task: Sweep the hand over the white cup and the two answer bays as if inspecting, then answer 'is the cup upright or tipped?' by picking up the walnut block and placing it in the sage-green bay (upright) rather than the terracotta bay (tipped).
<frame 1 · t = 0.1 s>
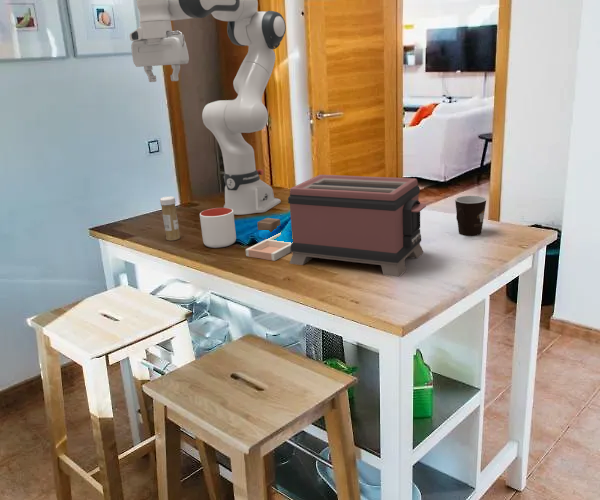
hand: (163, 81, 180), 48 cm above the counter, tool pointing down, fingers open, 8 cm apart
coffee mug: (465, 234, 175), on the counter
sprinkles bottle: (173, 239, 191), on the counter
toaster: (361, 259, 161), on the counter
answer bays: (280, 248, 174), on the counter
cup: (220, 244, 183), on the counter
walnut block: (270, 236, 186), on the counter
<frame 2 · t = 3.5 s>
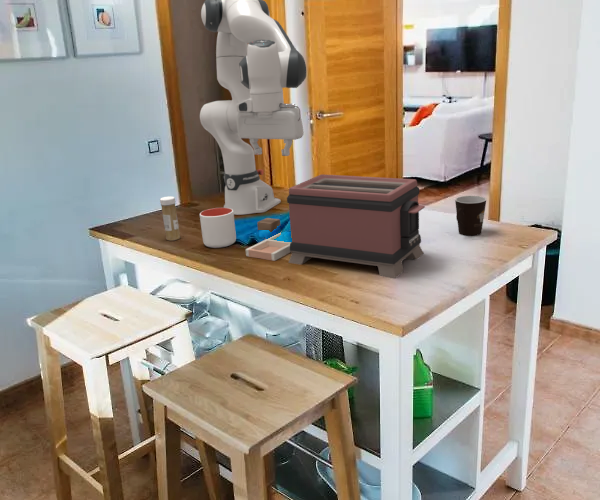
hand: (271, 155, 166), 27 cm above the counter, tool pointing down, fingers open, 8 cm apart
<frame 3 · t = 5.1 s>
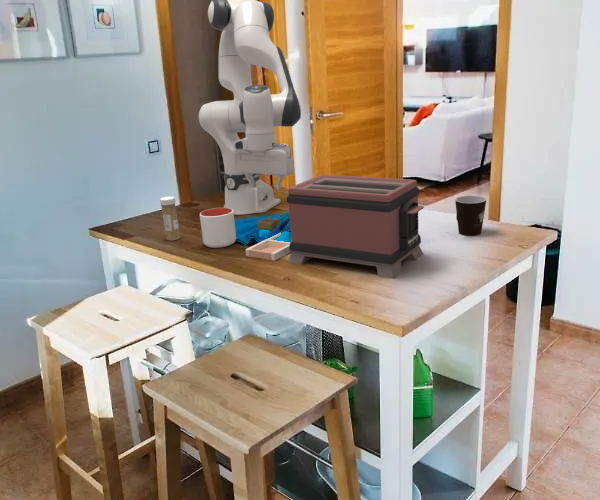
hand: (265, 188, 182), 15 cm above the counter, tool pointing down, fingers open, 8 cm apart
nothing on the counter moved.
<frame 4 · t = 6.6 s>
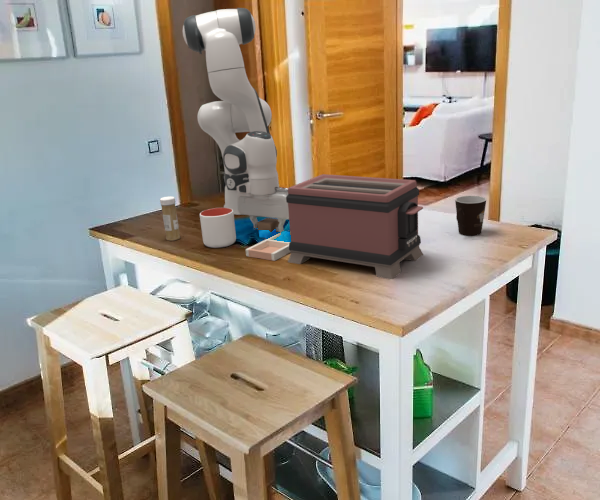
hand: (268, 230, 185), 2 cm above the counter, tool pointing down, fingers open, 7 cm apart
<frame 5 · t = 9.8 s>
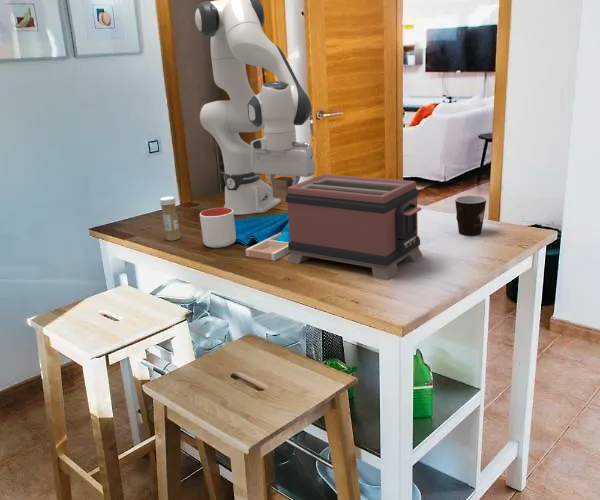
hand: (284, 190, 173), 16 cm above the counter, tool pointing down, fingers closed on walnut block, 5 cm apart
walnut block: (285, 195, 173), point 15 cm above the counter, touching gripper
when the fingers open (4 cm above the counter, at t = 12.4 s): walnut block drops 2 cm, resting on answer bays.
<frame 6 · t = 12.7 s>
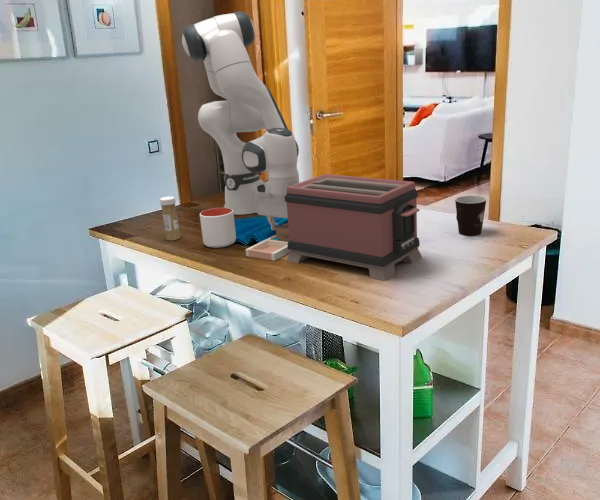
hand: (287, 231, 177), 4 cm above the counter, tool pointing down, fingers open, 8 cm apart
walnut block: (288, 242, 178), resting on answer bays
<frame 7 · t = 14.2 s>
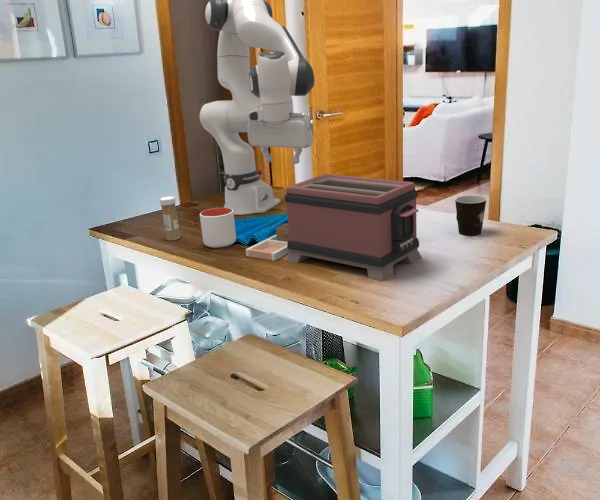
hand: (282, 162, 170), 24 cm above the counter, tool pointing down, fingers open, 8 cm apart
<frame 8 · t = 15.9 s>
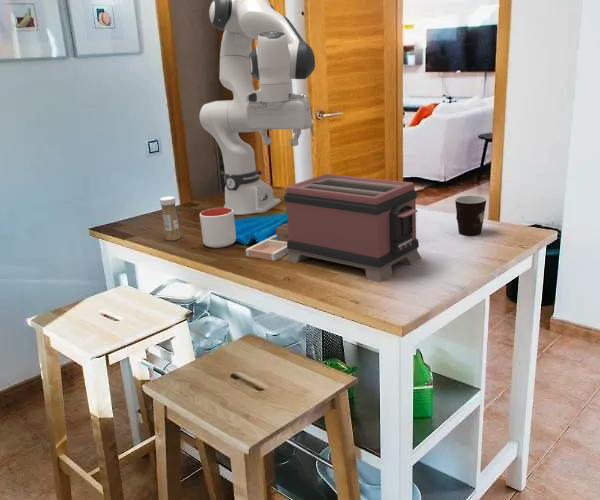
hand: (280, 145, 168), 29 cm above the counter, tool pointing down, fingers open, 8 cm apart
at the end: walnut block inside the target area on the answer bays (0.1 cm from its centre), point 0.2 cm above the answer bays's base; walnut block resting on answer bays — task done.
